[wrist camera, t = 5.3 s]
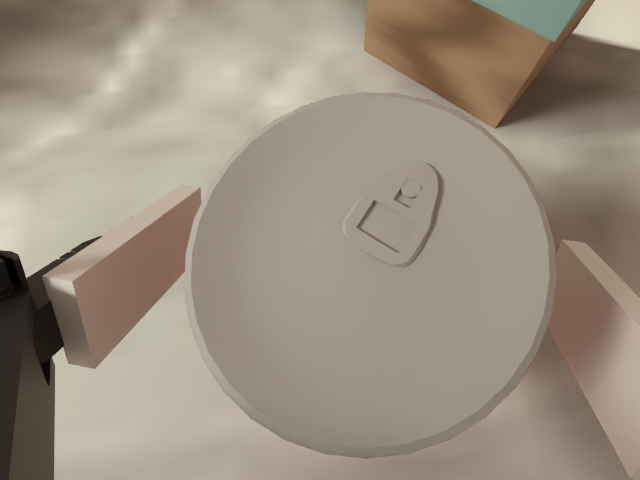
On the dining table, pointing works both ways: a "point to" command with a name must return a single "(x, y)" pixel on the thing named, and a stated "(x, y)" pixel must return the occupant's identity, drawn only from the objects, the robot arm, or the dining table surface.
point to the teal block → (537, 14)
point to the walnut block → (461, 51)
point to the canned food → (370, 275)
